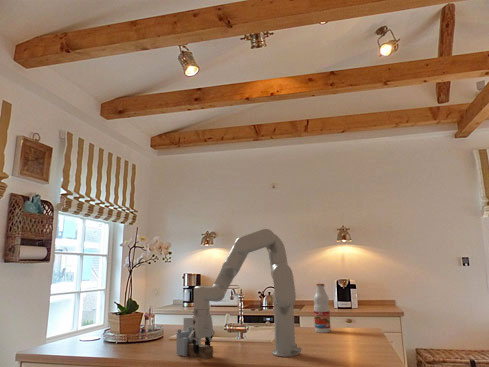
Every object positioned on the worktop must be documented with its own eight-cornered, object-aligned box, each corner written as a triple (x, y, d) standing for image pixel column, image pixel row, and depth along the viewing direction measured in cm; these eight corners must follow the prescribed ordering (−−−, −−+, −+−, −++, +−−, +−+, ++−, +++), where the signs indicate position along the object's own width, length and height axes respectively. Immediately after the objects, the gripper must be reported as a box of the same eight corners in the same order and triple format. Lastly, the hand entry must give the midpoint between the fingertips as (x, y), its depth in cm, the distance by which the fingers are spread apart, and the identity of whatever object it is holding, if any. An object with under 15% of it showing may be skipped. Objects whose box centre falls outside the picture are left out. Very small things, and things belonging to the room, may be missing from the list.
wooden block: (212, 357, 189) (212, 346, 190) (206, 359, 186) (206, 347, 187) (190, 352, 200) (190, 341, 201) (183, 354, 197) (183, 343, 198)
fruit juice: (332, 330, 247) (329, 283, 252) (328, 333, 239) (325, 284, 243) (317, 329, 251) (315, 283, 256) (312, 332, 243) (310, 284, 248)
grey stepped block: (198, 352, 199) (198, 327, 201) (184, 356, 193) (184, 330, 195) (190, 350, 203) (190, 326, 205) (176, 354, 197) (176, 329, 199)
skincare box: (192, 348, 209) (192, 318, 212) (182, 347, 212) (182, 317, 215) (201, 344, 217) (201, 315, 219) (192, 343, 220) (192, 315, 222)
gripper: (193, 315, 186) (193, 356, 183) (220, 310, 198) (220, 349, 195) (182, 314, 191) (182, 354, 188) (209, 309, 203) (210, 347, 200)
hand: (201, 351), depth 191 cm, fingers open, 6 cm apart
